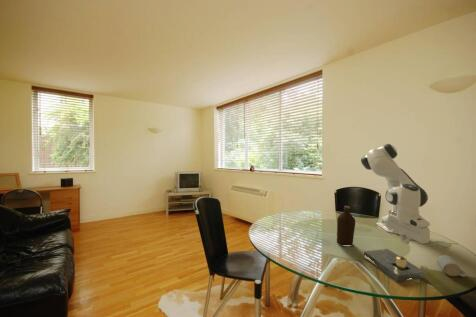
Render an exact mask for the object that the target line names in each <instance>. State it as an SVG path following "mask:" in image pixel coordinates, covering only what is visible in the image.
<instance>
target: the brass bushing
mask: <svg viewBox="0 0 476 317" xmlns="http://www.w3.org/2000/svg"><path fill="white" fill-rule="evenodd" d="M407 261H408V260H407V258H406V257H405V256H401V255H398V256H396V265H395V267H396V268H398V269H399V270H401V271H402V270H406V263H407Z"/></svg>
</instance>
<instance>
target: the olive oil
mask: <svg viewBox="0 0 476 317" xmlns="http://www.w3.org/2000/svg"><path fill="white" fill-rule="evenodd" d="M355 229H356V219H355V217H354V216H353V215H352V214H351V206H349V205H344V208H343V212H341V213H340V214H339V215H338V216H337V220H336V243H337V244H338V243H339V244H341V245H352V244H353V243H354V237H355ZM339 244H338V245H339ZM341 245H340V246H341ZM352 246H353V245H352Z"/></svg>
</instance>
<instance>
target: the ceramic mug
mask: <svg viewBox="0 0 476 317" xmlns="http://www.w3.org/2000/svg"><path fill="white" fill-rule="evenodd" d="M436 263H437V265H438V267H439V268H440V269H441V270H442V272H443V273H444V274H446V275H447V276H450V277H458V276H461V277H463V278H466V277H467V273H466V272H465V271H464V270H462V269H461V267H460V265H459V264H458V263H457V261H456V260H455V259H454V258H453V257H452V256H450V255H446V254H445V255H443V254H442V255H440V256H438V257H437V259H436Z"/></svg>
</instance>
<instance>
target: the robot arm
mask: <svg viewBox="0 0 476 317" xmlns="http://www.w3.org/2000/svg"><path fill="white" fill-rule="evenodd" d="M397 156H398V151H397V148H396V147H395V146H394V145H392V144H391V143H385V144H383V145H382V146H379V147H377V148H371V149H370V150H369V151H368V152H367V154H366V155H364V156H362V157H361V159H360V162H361V163H360V164H361V165H362V166H363V168H365V169H366V170H369V171H370V170H371V171H372V172H373V173H374V174H375V175H376V176H378V177H382V178H385V180H386V183H387V184H386V185H387V187H388V189H387V190H386V192H385V201H387V202H388V204H390V205H391V210H388V214H386V215H384V216H382V217H381V218H380V221H377V222H376V226H379V227H380V228H381V229H383V230H385V231H386V232H388V233H390V234H396V235H399V236H400V241H401V243H404V244H405V245H410V241H411V240H414V241H416V242H418V243H419V244H420V243H421V244H427V243H429V242H430V236H431V234H430V232H431V230H430V228H429V227H430V224H431V223H430V222H429V221H428V220H426V219H425V218H424V217H422V216H421V215H420V210H419V208H421V207H423V206H424V205H425V204H427V202H428V200H429V196H428V193H427V192H426V190H425V189H423V187H421V186H420V184H418V183H416V182H415V181H414V180H413V179H412V177H410V176H409V175H408V173H407V172H406V171H405V170H404V169H403V168H401V167H400V166H399V165H398V163H397V162H396V161H395V160H394V159H395V158H397Z"/></svg>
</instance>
